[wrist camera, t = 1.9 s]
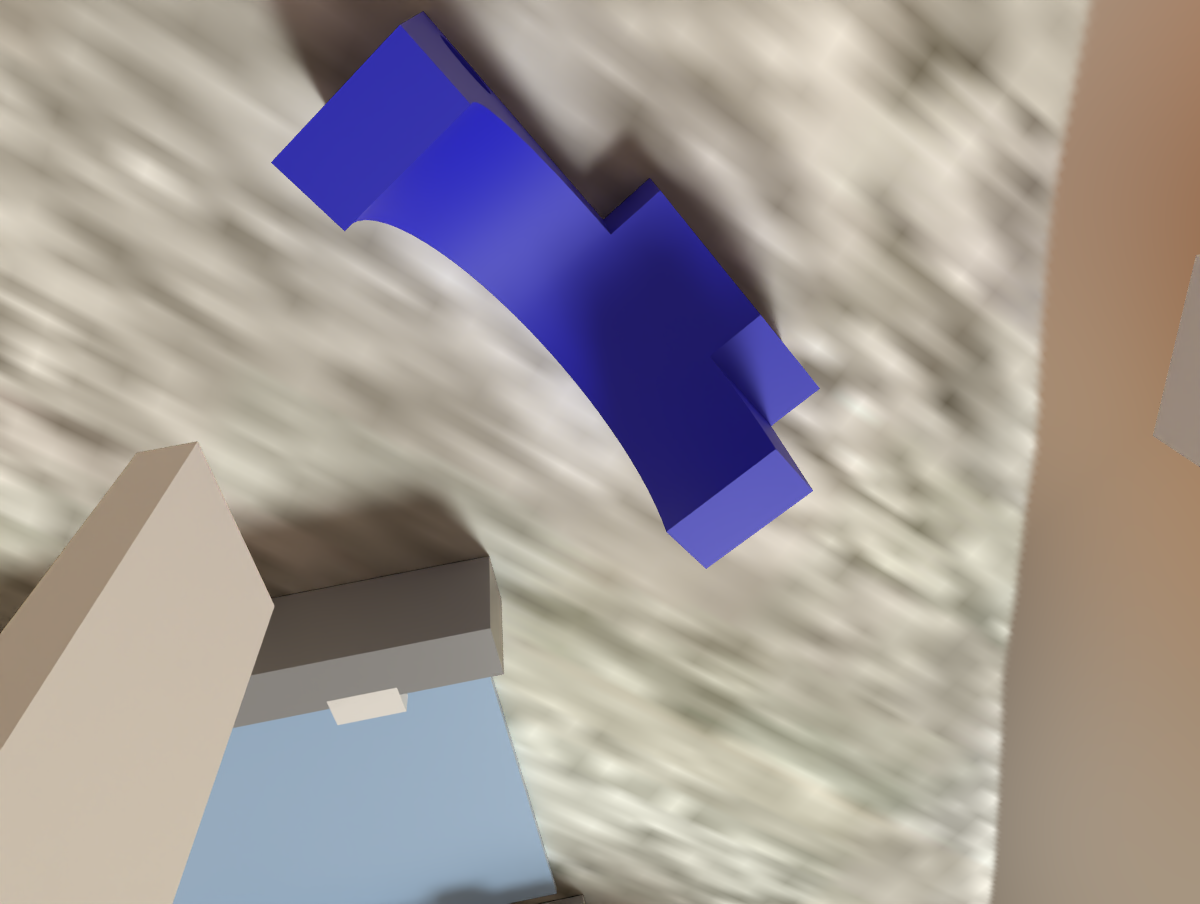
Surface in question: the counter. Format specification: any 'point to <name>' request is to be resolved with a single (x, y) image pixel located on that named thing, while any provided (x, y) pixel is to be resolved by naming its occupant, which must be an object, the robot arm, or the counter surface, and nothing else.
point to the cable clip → (572, 280)
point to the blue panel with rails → (374, 756)
